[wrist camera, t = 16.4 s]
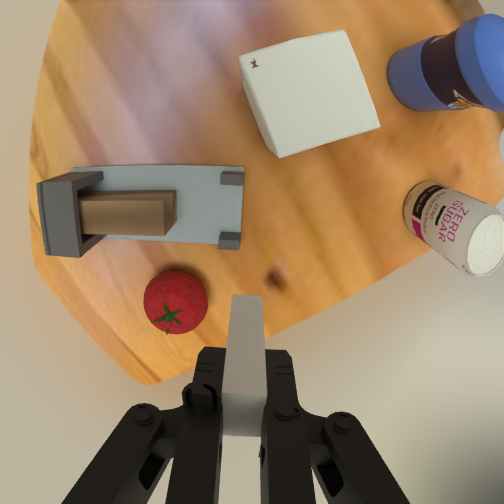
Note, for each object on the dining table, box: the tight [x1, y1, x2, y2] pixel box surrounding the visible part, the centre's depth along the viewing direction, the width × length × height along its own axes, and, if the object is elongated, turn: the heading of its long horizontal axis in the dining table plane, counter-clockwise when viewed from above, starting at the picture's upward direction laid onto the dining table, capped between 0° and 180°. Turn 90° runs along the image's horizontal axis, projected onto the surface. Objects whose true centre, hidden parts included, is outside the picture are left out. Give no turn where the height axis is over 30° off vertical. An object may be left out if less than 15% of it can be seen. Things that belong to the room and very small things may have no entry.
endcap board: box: [36, 164, 244, 258], centre depth 34 cm, size 10×24×9 cm, turn 87°
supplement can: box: [404, 182, 504, 277], centre depth 31 cm, size 8×8×15 cm
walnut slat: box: [77, 190, 177, 236], centre depth 34 cm, size 4×14×6 cm, turn 87°
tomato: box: [143, 271, 208, 335], centre depth 39 cm, size 9×9×8 cm
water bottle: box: [386, 14, 504, 113], centre depth 20 cm, size 9×9×25 cm
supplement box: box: [239, 29, 381, 158], centre depth 27 cm, size 9×9×15 cm
